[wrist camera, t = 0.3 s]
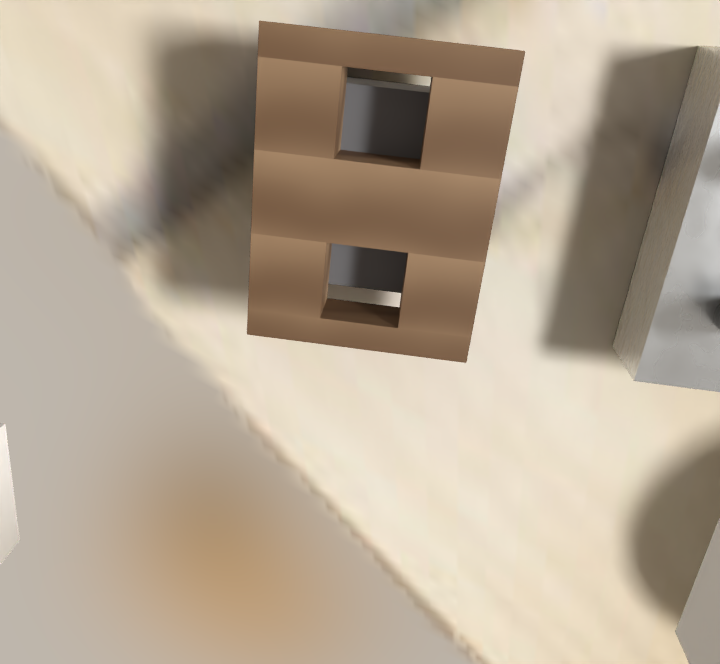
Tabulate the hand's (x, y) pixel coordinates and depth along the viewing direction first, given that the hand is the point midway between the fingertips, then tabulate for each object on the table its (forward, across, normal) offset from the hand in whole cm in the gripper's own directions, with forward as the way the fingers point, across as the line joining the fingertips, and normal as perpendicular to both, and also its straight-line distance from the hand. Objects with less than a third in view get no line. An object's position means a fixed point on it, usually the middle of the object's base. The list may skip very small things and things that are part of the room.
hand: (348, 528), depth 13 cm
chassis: (+24, +16, +2) cm, 29 cm away
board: (+20, -1, +2) cm, 20 cm away
